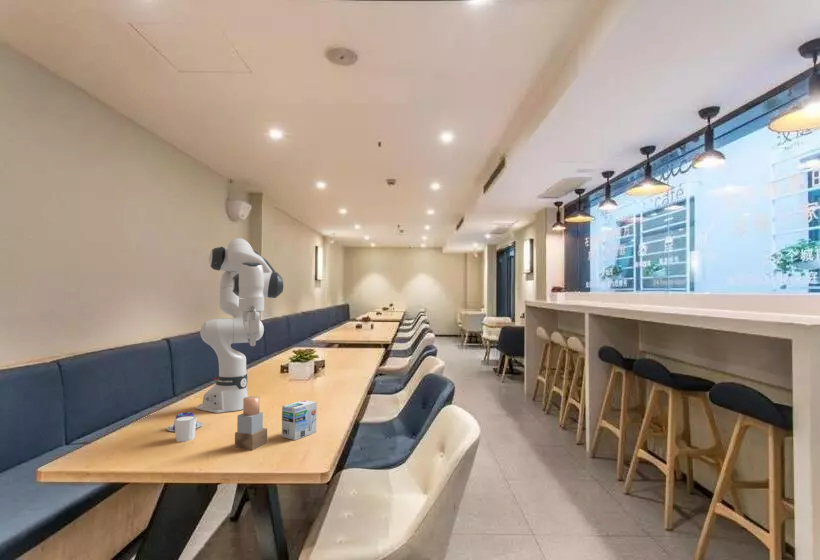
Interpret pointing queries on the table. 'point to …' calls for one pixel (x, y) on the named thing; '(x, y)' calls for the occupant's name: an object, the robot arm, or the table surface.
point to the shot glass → (185, 428)
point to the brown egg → (251, 405)
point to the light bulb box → (299, 419)
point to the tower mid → (249, 423)
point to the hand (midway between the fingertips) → (251, 344)
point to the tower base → (251, 440)
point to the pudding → (183, 416)
